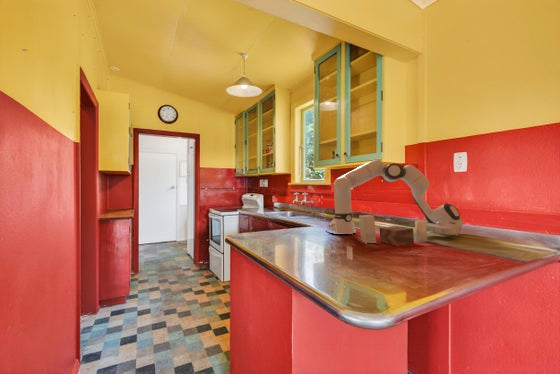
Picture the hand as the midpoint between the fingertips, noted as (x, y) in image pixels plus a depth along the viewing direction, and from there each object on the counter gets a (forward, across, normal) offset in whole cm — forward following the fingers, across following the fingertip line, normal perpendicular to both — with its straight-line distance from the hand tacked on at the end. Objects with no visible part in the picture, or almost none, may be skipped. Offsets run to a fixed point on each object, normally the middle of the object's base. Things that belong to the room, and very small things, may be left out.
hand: (426, 229), depth 143 cm
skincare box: (+31, -12, +6) cm, 34 cm away
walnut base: (+18, -4, +6) cm, 20 cm away
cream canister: (+4, 0, +6) cm, 7 cm away
